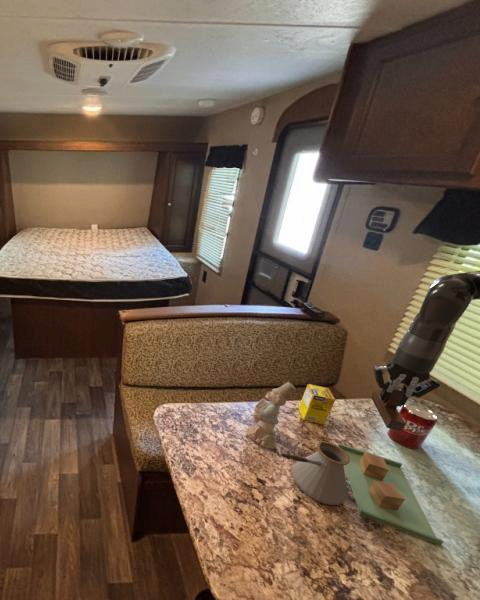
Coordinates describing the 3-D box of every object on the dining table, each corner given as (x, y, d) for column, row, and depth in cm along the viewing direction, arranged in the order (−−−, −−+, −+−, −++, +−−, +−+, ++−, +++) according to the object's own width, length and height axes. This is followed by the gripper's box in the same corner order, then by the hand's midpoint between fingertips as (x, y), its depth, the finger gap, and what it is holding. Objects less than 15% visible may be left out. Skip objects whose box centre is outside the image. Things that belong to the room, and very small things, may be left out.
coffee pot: (315, 465, 86) (334, 424, 80) (355, 507, 76) (381, 463, 70) (246, 476, 82) (261, 434, 76) (278, 521, 72) (299, 476, 66)
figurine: (280, 438, 95) (302, 384, 87) (273, 454, 89) (295, 399, 81) (249, 422, 100) (266, 370, 92) (240, 436, 95) (258, 383, 87)
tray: (397, 468, 87) (401, 463, 86) (438, 548, 68) (443, 542, 67) (336, 448, 92) (339, 443, 91) (358, 517, 74) (362, 511, 73)
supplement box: (323, 427, 100) (336, 399, 95) (302, 421, 101) (313, 395, 97) (317, 414, 105) (329, 388, 100) (296, 409, 106) (307, 383, 102)
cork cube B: (385, 494, 78) (393, 483, 77) (397, 510, 75) (405, 499, 73) (367, 491, 79) (374, 480, 77) (378, 506, 75) (385, 495, 74)
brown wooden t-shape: (382, 400, 95) (395, 376, 91) (400, 432, 83) (416, 405, 80) (370, 397, 96) (382, 372, 93) (386, 428, 85) (401, 402, 81)
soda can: (416, 456, 91) (437, 424, 86) (383, 439, 96) (401, 409, 91) (420, 443, 95) (440, 413, 90) (388, 428, 100) (405, 399, 95)
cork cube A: (377, 468, 85) (383, 458, 84) (382, 480, 82) (389, 469, 80) (358, 462, 87) (364, 452, 85) (363, 474, 83) (369, 463, 82)
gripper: (389, 350, 81) (363, 402, 88) (464, 365, 75) (429, 420, 82) (379, 337, 87) (355, 387, 94) (448, 350, 82) (417, 402, 89)
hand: (390, 402), depth 88 cm, fingers closed on brown wooden t-shape, 2 cm apart
